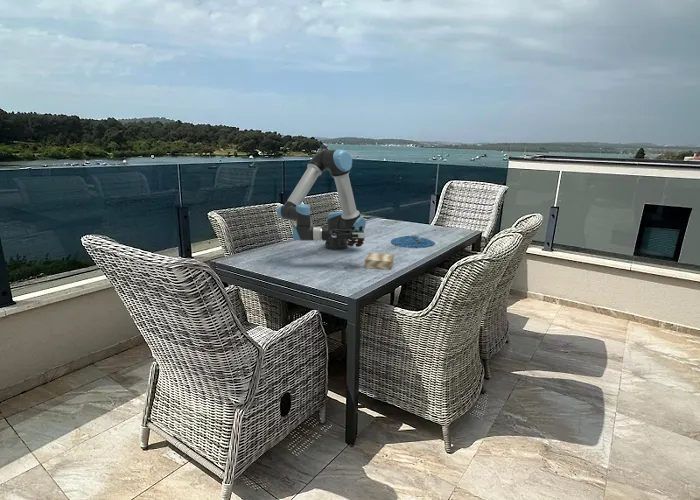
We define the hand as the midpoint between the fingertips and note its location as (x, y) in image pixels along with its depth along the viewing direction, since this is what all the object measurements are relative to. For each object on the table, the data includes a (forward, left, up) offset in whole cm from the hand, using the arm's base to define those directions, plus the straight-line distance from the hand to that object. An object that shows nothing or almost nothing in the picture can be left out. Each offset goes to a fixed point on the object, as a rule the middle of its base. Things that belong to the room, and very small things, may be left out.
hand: (363, 234), depth 205 cm
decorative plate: (+28, +57, -19) cm, 67 cm away
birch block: (+9, +2, -18) cm, 20 cm away
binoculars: (-4, -2, -6) cm, 8 cm away
